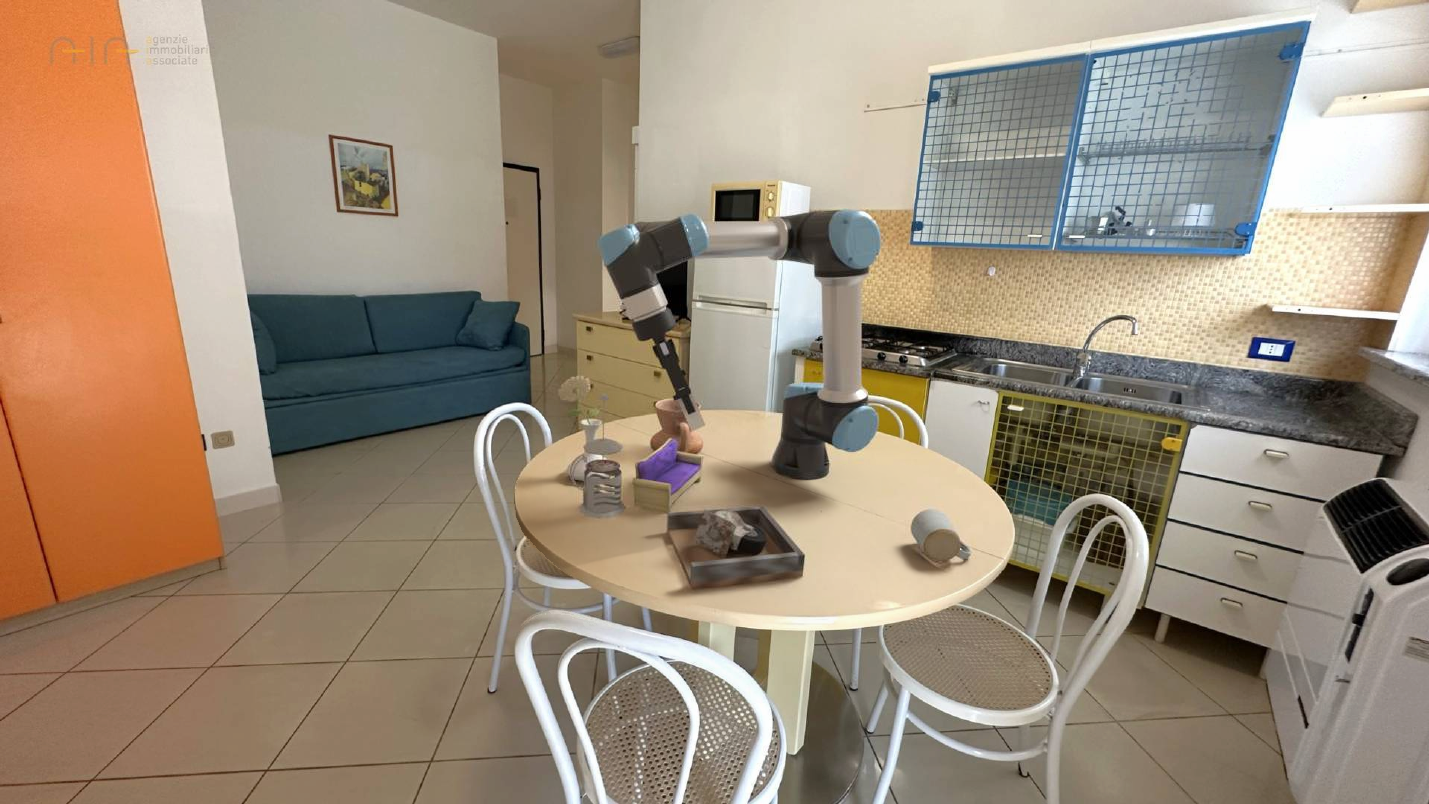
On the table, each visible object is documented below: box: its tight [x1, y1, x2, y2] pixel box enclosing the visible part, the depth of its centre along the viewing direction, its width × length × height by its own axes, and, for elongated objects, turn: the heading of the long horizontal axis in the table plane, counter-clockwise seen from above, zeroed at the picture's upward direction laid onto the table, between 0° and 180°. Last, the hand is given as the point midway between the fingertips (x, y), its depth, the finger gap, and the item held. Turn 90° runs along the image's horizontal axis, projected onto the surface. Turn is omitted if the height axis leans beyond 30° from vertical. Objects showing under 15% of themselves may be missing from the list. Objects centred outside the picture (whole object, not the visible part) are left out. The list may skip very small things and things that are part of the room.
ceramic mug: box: [910, 508, 972, 562], centre depth 110 cm, size 11×8×8 cm
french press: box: [569, 393, 627, 519], centre depth 118 cm, size 10×12×25 cm
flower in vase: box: [557, 375, 611, 482], centre depth 134 cm, size 13×11×25 cm
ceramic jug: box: [649, 398, 704, 455], centre depth 155 cm, size 18×14×14 cm
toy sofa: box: [632, 438, 704, 514], centre depth 130 cm, size 21×9×10 cm, turn 160°
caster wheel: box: [694, 509, 767, 558], centre depth 106 cm, size 7×11×10 cm
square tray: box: [666, 505, 806, 590], centre depth 106 cm, size 20×20×4 cm
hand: (694, 417), depth 109 cm, fingers open, 13 cm apart
